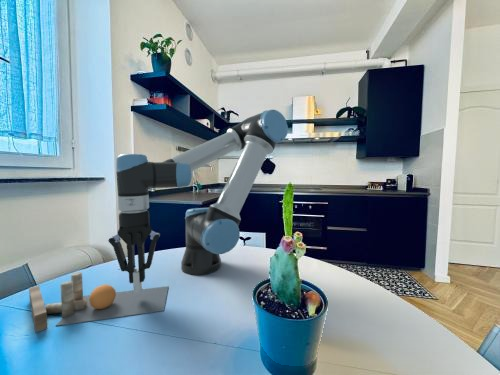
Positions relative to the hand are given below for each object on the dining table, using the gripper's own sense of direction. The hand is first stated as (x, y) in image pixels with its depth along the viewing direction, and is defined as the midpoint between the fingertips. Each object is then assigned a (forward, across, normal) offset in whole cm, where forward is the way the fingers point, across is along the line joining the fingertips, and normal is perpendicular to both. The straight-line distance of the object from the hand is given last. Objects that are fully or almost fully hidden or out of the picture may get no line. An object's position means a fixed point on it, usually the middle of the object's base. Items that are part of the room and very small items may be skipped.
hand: (137, 292), depth 63 cm
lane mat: (+2, -4, 0) cm, 5 cm away
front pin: (+1, -13, 0) cm, 13 cm away
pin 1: (+2, -16, -3) cm, 16 cm away
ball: (-1, -8, -1) cm, 8 cm away
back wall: (+2, -24, 0) cm, 24 cm away
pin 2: (+2, -16, +2) cm, 16 cm away
